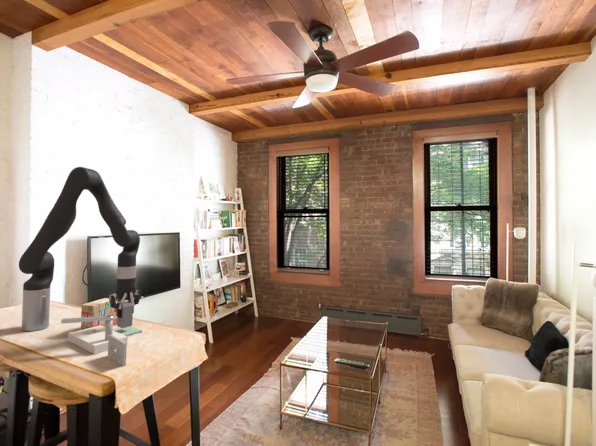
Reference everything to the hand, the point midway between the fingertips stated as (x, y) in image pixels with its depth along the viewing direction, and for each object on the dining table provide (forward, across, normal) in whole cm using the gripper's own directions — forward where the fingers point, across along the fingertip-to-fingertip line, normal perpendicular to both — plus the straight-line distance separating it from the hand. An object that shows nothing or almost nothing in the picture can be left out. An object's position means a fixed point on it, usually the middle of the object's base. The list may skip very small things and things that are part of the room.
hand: (124, 315), depth 138 cm
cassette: (+8, +16, +24) cm, 30 cm away
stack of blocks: (+8, 0, -14) cm, 16 cm away
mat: (+7, 0, 0) cm, 7 cm away
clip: (-3, +18, +7) cm, 19 cm away
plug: (+4, 0, 0) cm, 4 cm away
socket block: (+7, +12, +2) cm, 14 cm away
